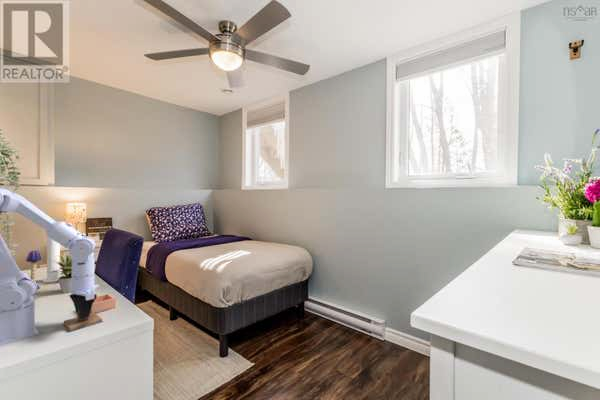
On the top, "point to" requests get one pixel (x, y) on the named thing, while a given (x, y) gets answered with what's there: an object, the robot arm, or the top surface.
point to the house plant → (67, 270)
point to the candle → (52, 261)
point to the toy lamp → (33, 263)
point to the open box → (103, 303)
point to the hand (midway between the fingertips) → (83, 316)
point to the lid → (82, 321)
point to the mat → (80, 328)
